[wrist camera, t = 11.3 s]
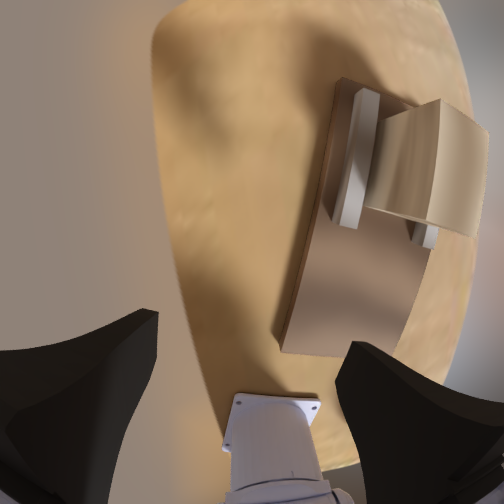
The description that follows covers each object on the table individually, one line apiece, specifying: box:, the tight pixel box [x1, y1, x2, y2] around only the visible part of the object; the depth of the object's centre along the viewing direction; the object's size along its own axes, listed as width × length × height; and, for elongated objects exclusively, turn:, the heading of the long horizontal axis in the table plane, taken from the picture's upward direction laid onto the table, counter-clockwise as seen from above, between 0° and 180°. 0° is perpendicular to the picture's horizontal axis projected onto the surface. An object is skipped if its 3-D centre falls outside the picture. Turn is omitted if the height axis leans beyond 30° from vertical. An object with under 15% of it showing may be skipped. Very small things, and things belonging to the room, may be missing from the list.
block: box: [363, 99, 489, 239], centre depth 13 cm, size 4×6×7 cm, turn 169°
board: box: [279, 77, 439, 358], centre depth 17 cm, size 20×10×3 cm, turn 169°
